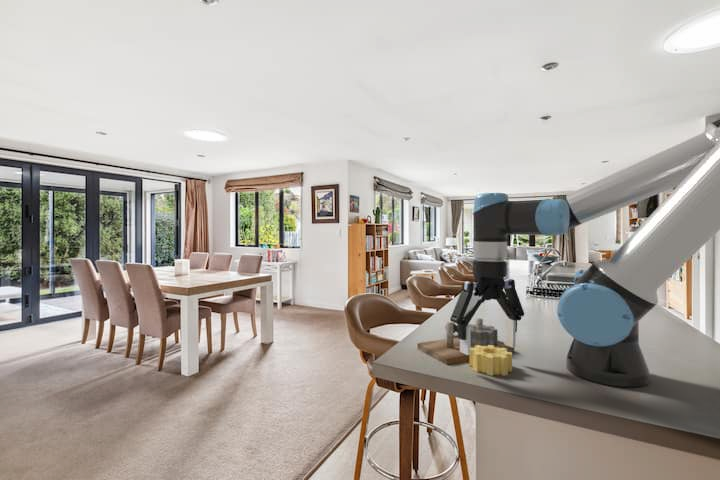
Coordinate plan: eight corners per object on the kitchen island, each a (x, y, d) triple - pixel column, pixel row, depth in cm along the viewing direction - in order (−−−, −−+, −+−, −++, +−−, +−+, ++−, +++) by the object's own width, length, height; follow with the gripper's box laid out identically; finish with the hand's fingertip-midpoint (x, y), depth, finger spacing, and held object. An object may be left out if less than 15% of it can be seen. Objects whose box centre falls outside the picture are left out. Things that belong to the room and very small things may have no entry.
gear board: (514, 351, 92) (514, 322, 92) (446, 364, 84) (446, 331, 84) (479, 338, 104) (479, 312, 104) (417, 348, 96) (417, 319, 96)
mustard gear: (521, 371, 79) (521, 354, 79) (489, 378, 75) (489, 360, 75) (491, 358, 87) (491, 342, 87) (461, 364, 84) (461, 347, 84)
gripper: (516, 257, 89) (514, 338, 90) (435, 259, 80) (434, 351, 80) (541, 259, 83) (539, 347, 83) (456, 262, 73) (455, 362, 73)
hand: (488, 349), depth 82 cm, fingers open, 13 cm apart
